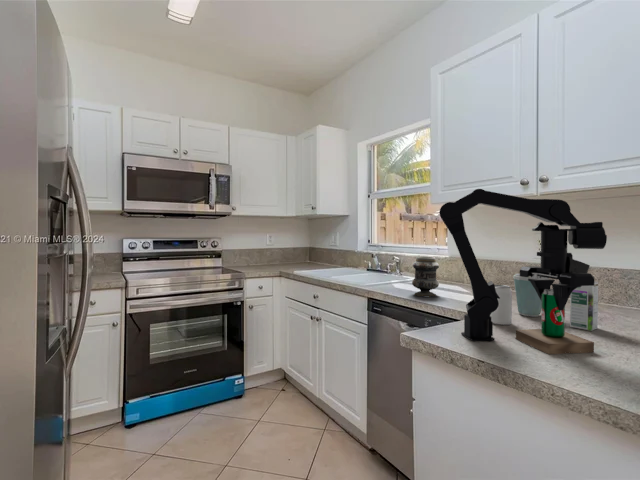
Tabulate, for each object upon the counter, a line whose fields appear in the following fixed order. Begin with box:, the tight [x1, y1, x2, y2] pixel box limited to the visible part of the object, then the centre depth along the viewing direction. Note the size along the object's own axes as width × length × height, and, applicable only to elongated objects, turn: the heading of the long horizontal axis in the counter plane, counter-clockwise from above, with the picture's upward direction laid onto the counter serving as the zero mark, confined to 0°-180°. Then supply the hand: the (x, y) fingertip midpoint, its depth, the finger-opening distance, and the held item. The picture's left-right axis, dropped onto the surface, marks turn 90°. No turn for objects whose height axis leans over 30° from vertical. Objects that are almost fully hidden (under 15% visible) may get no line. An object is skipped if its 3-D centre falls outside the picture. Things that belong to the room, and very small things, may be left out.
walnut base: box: [515, 328, 595, 355], centre depth 89 cm, size 12×12×2 cm
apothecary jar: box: [411, 255, 440, 298], centre depth 159 cm, size 12×12×18 cm
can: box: [490, 284, 513, 326], centre depth 111 cm, size 6×6×12 cm
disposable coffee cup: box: [513, 273, 542, 318], centre depth 122 cm, size 11×11×15 cm
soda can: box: [540, 288, 566, 338], centre depth 89 cm, size 5×5×12 cm
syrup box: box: [569, 281, 599, 332], centre depth 105 cm, size 6×6×14 cm
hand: (553, 308), depth 89 cm, fingers closed on soda can, 5 cm apart
